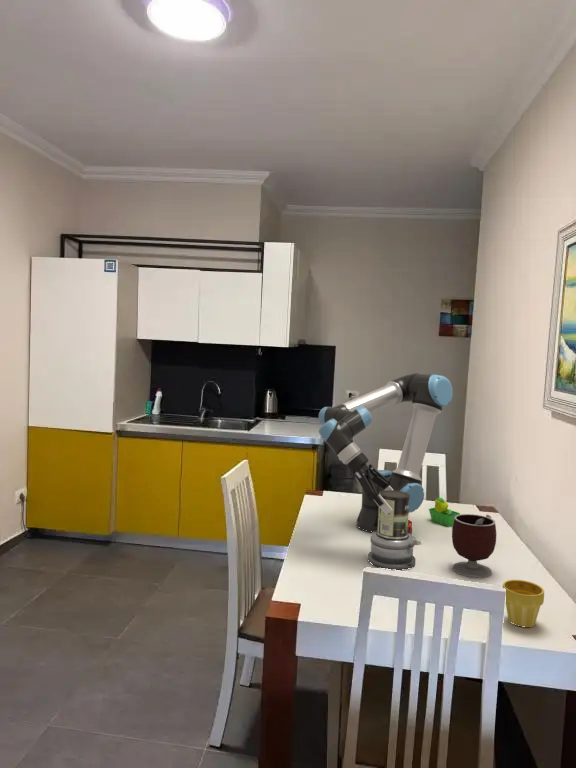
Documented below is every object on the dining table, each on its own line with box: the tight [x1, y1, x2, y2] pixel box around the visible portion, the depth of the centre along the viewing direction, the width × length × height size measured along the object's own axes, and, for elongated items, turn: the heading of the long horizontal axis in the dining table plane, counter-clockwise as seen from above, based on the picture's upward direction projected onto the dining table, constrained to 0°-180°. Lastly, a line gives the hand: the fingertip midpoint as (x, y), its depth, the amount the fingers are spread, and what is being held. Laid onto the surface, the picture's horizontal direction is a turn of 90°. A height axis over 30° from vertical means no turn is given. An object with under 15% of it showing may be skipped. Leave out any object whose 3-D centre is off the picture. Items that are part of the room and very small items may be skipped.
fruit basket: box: [428, 497, 461, 527], centre depth 246 cm, size 11×9×11 cm
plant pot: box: [502, 579, 545, 628], centre depth 157 cm, size 10×10×10 cm
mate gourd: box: [451, 513, 497, 579], centre depth 192 cm, size 16×14×20 cm
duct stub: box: [367, 530, 417, 571], centre depth 199 cm, size 16×16×9 cm
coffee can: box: [377, 490, 410, 539], centre depth 199 cm, size 10×10×14 cm
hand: (394, 507), depth 198 cm, fingers open, 13 cm apart
